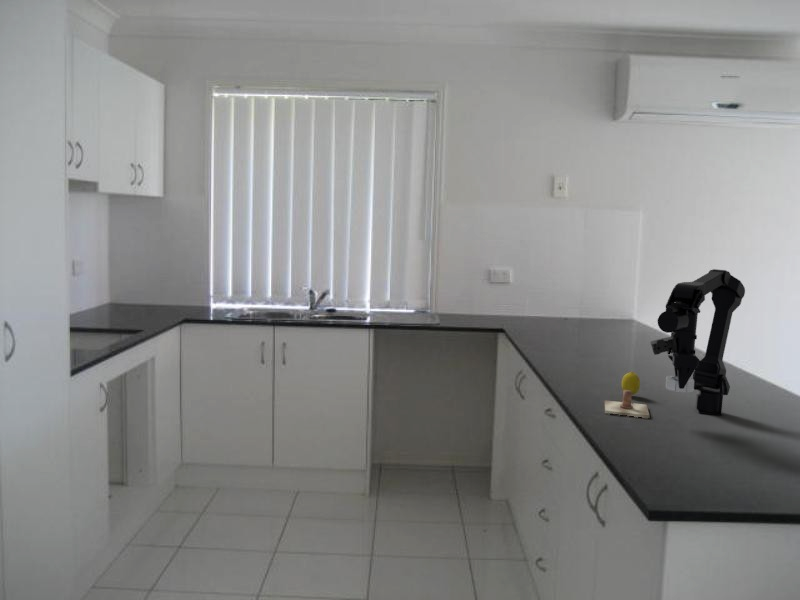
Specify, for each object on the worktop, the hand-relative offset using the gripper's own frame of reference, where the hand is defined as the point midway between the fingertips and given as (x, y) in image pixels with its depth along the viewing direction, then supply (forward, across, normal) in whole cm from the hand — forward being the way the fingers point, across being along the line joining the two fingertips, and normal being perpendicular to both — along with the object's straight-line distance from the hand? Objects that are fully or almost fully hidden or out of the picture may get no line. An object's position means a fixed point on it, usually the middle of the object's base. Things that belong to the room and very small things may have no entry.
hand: (679, 385), depth 199 cm
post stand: (+11, -8, -13) cm, 19 cm away
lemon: (+11, -27, -11) cm, 31 cm away
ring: (+1, 0, 0) cm, 1 cm away
